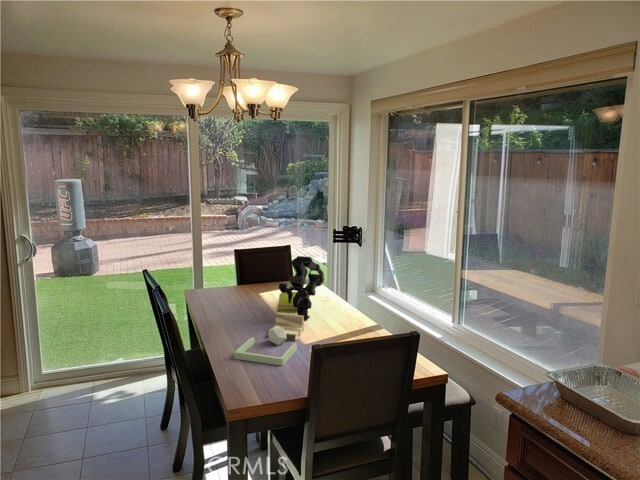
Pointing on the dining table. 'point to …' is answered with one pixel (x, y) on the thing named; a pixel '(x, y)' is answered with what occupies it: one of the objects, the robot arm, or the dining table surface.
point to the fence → (243, 355)
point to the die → (277, 335)
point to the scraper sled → (290, 325)
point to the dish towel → (286, 303)
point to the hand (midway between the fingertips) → (292, 303)
